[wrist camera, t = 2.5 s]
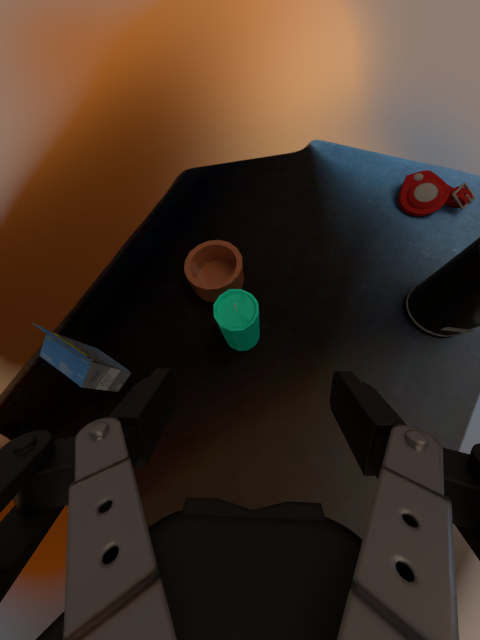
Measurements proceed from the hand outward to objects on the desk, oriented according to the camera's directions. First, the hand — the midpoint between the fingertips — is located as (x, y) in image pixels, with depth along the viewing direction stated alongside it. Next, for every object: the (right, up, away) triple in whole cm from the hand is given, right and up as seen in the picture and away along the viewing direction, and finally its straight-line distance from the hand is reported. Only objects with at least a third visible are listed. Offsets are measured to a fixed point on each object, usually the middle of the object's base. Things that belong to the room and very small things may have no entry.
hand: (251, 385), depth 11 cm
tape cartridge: (-23, -5, +27) cm, 36 cm away
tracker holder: (+37, +27, +34) cm, 57 cm away
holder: (-5, +11, +32) cm, 34 cm away
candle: (0, +1, +27) cm, 27 cm away
